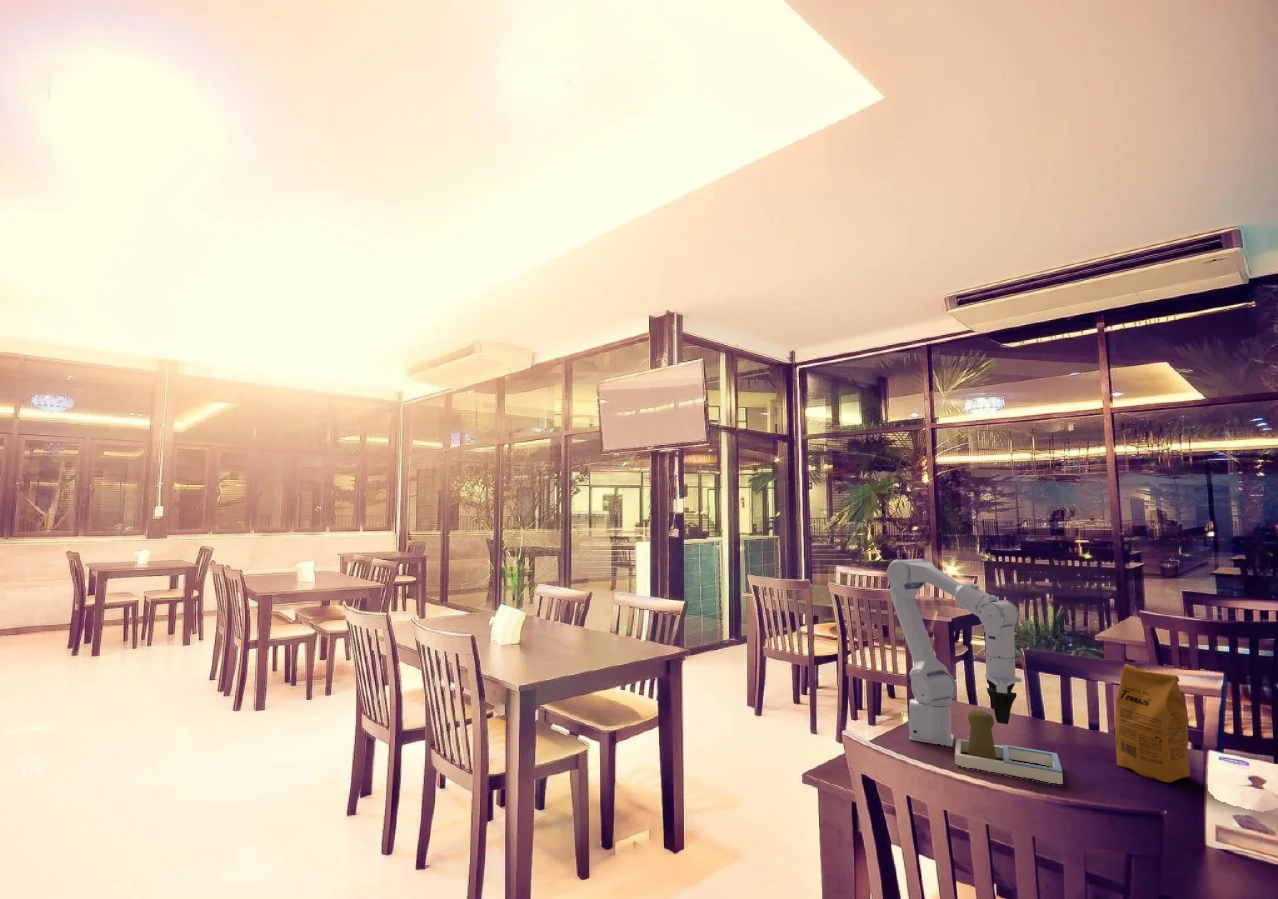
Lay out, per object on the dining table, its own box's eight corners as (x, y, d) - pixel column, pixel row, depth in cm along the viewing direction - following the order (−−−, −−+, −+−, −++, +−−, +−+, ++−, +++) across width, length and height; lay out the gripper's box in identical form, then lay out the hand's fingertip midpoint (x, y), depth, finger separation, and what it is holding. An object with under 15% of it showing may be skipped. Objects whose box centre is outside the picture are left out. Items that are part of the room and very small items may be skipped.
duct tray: (955, 766, 142) (954, 752, 143) (957, 749, 152) (956, 736, 152) (1062, 785, 133) (1062, 771, 133) (1057, 766, 143) (1056, 753, 143)
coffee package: (1138, 758, 148) (1133, 660, 150) (1199, 780, 136) (1193, 674, 138) (1106, 763, 145) (1102, 663, 147) (1166, 786, 133) (1160, 677, 135)
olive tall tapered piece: (1001, 769, 141) (999, 717, 142) (971, 766, 142) (970, 715, 143) (992, 758, 147) (990, 708, 148) (963, 755, 148) (962, 706, 149)
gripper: (1022, 665, 137) (1024, 731, 135) (1019, 651, 149) (1020, 711, 148) (985, 661, 140) (986, 725, 139) (984, 647, 153) (986, 706, 152)
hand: (1001, 718), depth 144 cm, fingers open, 7 cm apart
